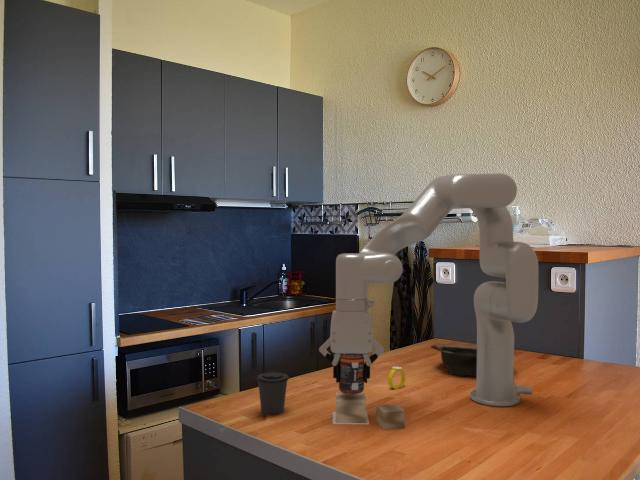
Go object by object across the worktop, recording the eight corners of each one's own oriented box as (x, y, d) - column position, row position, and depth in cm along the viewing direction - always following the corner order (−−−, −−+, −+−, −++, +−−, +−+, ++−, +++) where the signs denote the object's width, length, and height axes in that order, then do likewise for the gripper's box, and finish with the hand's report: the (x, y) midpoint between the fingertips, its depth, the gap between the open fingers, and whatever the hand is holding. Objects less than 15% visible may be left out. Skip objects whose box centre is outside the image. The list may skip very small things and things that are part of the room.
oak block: (396, 420, 134) (396, 404, 133) (404, 428, 129) (404, 410, 129) (376, 422, 132) (376, 405, 132) (383, 430, 128) (383, 412, 127)
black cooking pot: (454, 382, 168) (453, 351, 168) (420, 368, 192) (419, 340, 192) (528, 376, 173) (527, 346, 174) (486, 363, 198) (485, 336, 198)
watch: (399, 386, 166) (400, 365, 166) (406, 388, 164) (408, 367, 164) (385, 388, 162) (386, 367, 162) (392, 390, 160) (393, 369, 160)
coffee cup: (263, 421, 134) (263, 379, 134) (251, 411, 142) (251, 371, 141) (294, 416, 138) (294, 375, 138) (281, 406, 145) (281, 367, 145)
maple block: (364, 413, 139) (364, 392, 139) (366, 423, 132) (366, 401, 132) (335, 412, 139) (335, 392, 139) (335, 422, 132) (335, 401, 132)
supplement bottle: (362, 395, 132) (362, 347, 131) (336, 394, 133) (337, 345, 133) (365, 388, 138) (365, 341, 137) (341, 387, 139) (341, 340, 138)
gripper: (386, 303, 138) (386, 377, 139) (315, 303, 139) (315, 376, 139) (389, 308, 131) (389, 386, 131) (314, 307, 131) (314, 385, 132)
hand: (351, 380), depth 135 cm, fingers closed on supplement bottle, 6 cm apart
